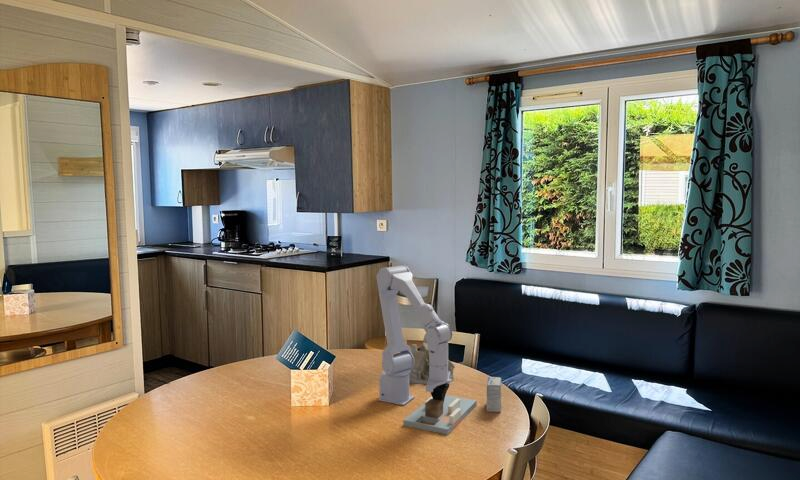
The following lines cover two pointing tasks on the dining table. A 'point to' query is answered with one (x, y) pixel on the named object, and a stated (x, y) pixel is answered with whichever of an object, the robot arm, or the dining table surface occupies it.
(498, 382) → the medicine box
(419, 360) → the ceramic cottage
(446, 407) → the deck
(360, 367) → the dining table surface
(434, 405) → the block
